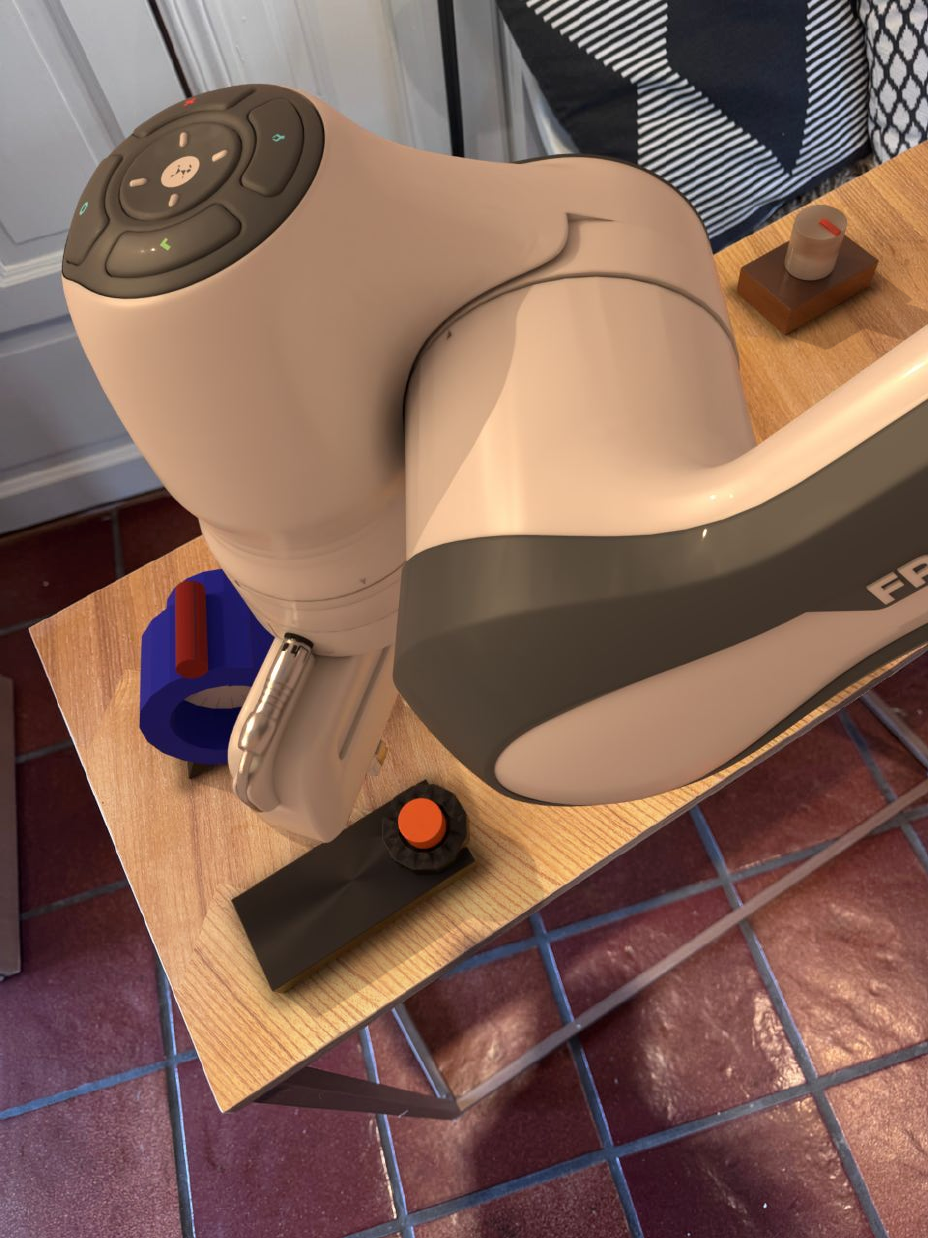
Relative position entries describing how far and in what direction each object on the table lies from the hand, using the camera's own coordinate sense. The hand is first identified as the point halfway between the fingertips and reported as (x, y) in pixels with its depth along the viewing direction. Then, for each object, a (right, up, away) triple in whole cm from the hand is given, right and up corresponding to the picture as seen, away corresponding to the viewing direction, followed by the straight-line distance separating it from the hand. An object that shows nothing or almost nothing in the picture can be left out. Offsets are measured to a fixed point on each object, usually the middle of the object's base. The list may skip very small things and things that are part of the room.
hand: (401, 677), depth 47 cm
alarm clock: (-13, -3, +25) cm, 29 cm away
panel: (+35, +34, +37) cm, 62 cm away
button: (+1, -11, +15) cm, 19 cm away
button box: (-4, -16, +17) cm, 24 cm away
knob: (+35, +36, +35) cm, 61 cm away
